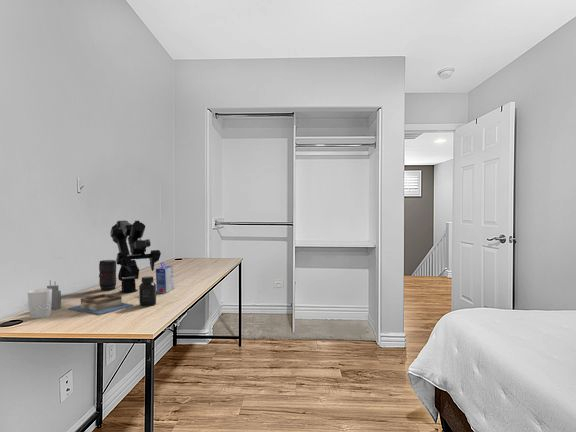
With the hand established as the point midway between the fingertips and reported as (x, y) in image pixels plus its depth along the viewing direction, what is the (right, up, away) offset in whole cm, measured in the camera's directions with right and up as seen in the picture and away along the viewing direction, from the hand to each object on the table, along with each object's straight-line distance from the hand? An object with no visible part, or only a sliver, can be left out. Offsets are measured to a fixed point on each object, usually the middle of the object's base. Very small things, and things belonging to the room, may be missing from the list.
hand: (142, 271), depth 168 cm
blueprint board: (-13, -14, -11) cm, 22 cm away
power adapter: (-33, -14, -12) cm, 38 cm away
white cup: (-31, -14, -23) cm, 41 cm away
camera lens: (-28, -13, +26) cm, 41 cm away
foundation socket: (-13, -14, -11) cm, 22 cm away
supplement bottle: (+5, -14, -6) cm, 16 cm away
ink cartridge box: (+3, -13, +21) cm, 25 cm away
